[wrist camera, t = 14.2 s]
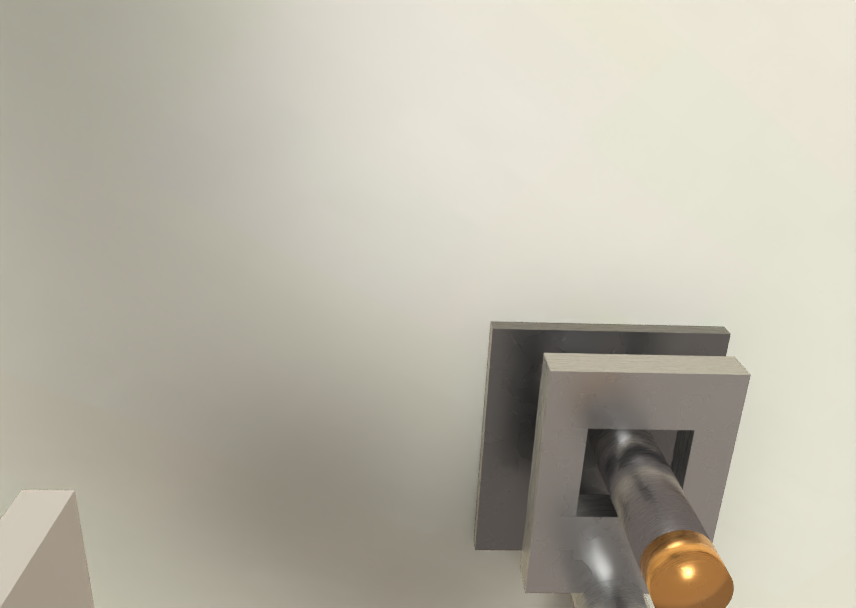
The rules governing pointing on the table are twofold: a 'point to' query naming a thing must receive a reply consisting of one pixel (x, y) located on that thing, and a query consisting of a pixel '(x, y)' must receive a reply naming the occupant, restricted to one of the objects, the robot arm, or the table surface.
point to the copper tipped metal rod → (659, 522)
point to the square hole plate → (570, 452)
